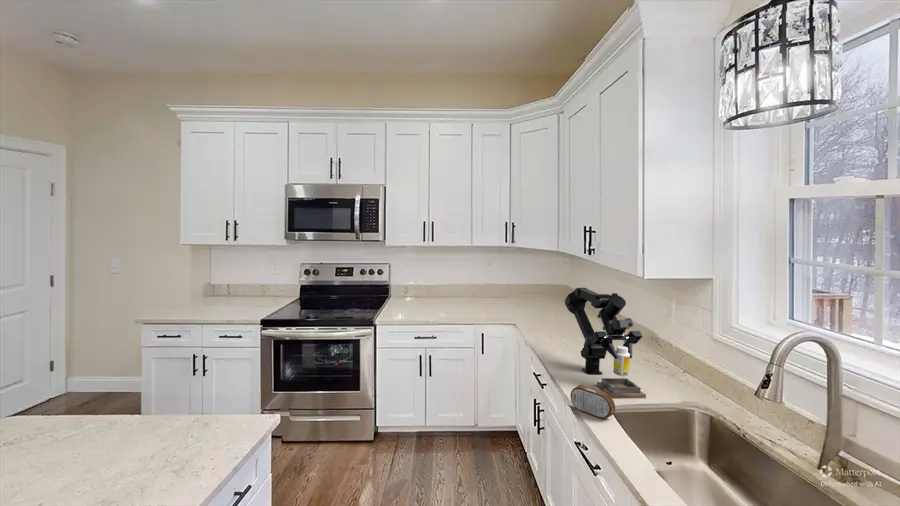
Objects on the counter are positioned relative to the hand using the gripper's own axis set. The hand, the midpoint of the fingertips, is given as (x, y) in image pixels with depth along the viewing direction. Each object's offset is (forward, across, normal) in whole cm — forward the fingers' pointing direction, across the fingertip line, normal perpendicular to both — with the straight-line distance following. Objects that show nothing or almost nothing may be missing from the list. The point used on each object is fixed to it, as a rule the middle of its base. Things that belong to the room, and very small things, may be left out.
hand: (623, 358), depth 164 cm
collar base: (+8, 0, +10) cm, 13 cm away
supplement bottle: (+4, 0, +6) cm, 7 cm away
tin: (+21, -21, -2) cm, 30 cm away
